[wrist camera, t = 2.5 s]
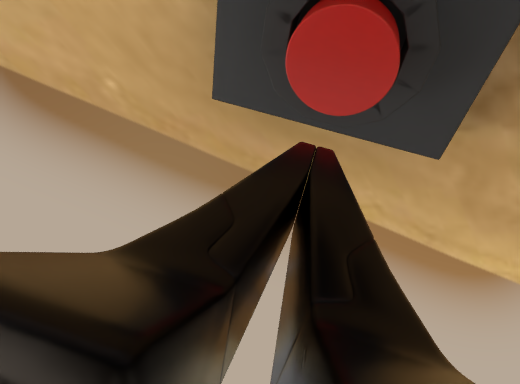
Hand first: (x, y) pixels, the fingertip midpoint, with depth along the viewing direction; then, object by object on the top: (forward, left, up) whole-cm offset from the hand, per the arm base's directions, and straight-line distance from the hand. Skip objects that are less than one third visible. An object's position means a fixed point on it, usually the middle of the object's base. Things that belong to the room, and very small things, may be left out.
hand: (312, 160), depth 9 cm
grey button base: (0, 0, -13) cm, 13 cm away
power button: (0, 0, -9) cm, 9 cm away
